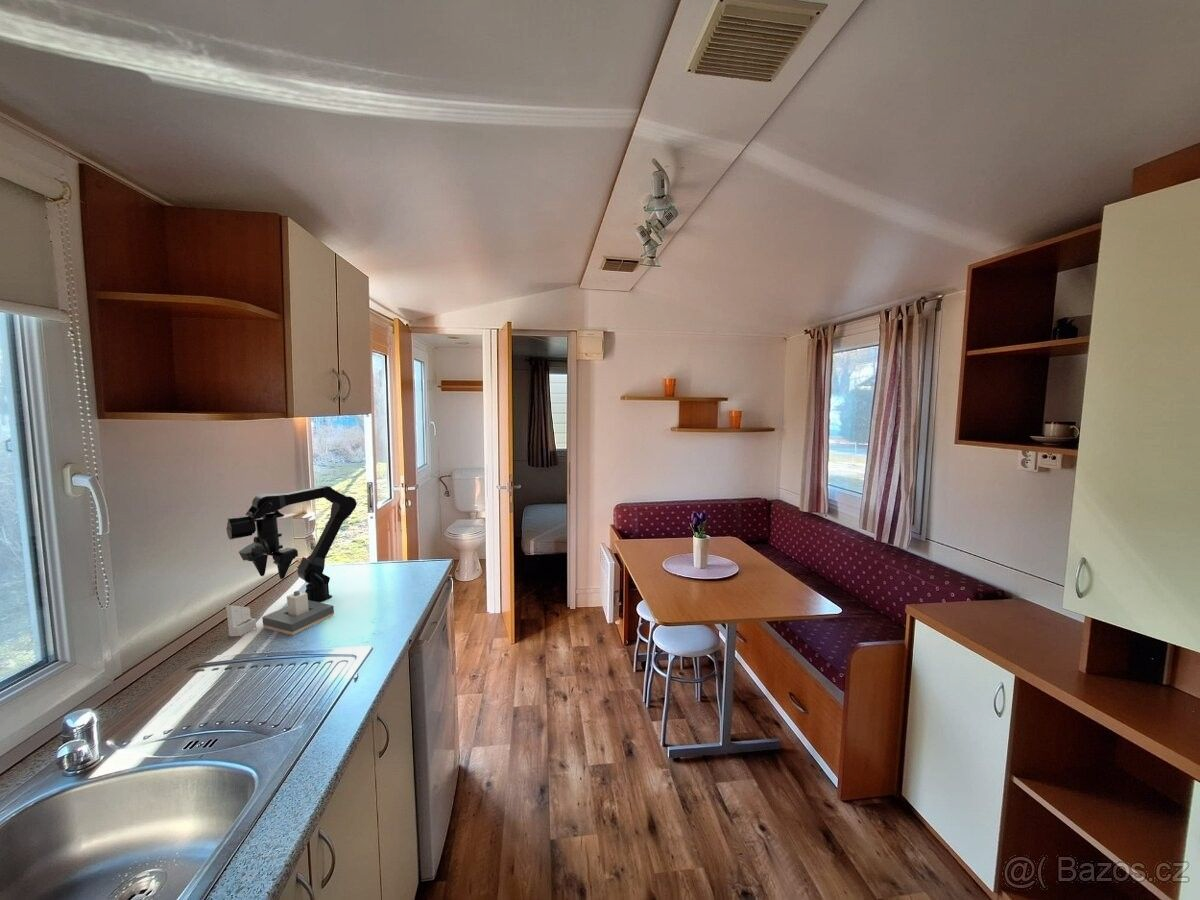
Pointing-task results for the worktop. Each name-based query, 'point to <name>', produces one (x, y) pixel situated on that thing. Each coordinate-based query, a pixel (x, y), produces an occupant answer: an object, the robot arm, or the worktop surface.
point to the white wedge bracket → (239, 620)
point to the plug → (297, 603)
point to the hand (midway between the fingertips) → (272, 577)
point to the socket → (297, 618)
